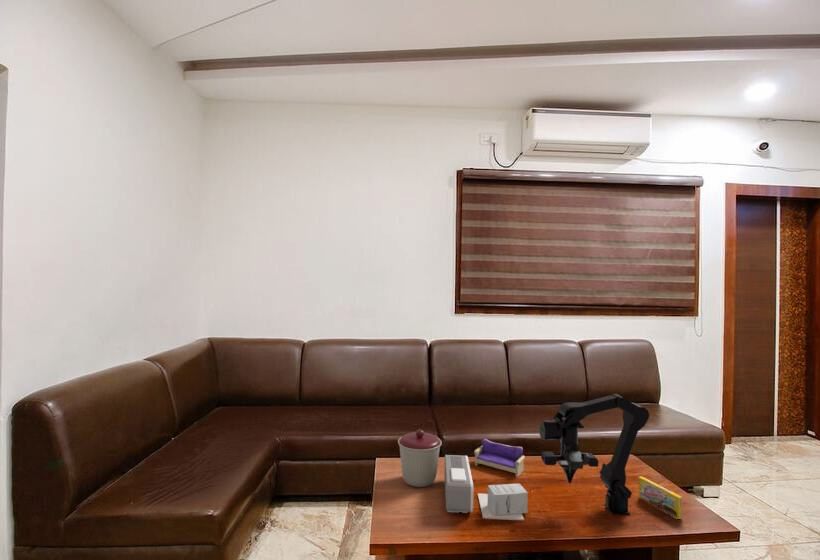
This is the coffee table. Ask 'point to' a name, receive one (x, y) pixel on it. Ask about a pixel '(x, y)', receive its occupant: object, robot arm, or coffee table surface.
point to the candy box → (660, 497)
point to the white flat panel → (488, 513)
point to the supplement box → (507, 499)
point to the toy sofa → (500, 456)
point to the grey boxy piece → (458, 484)
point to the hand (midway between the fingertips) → (569, 482)
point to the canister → (419, 457)
